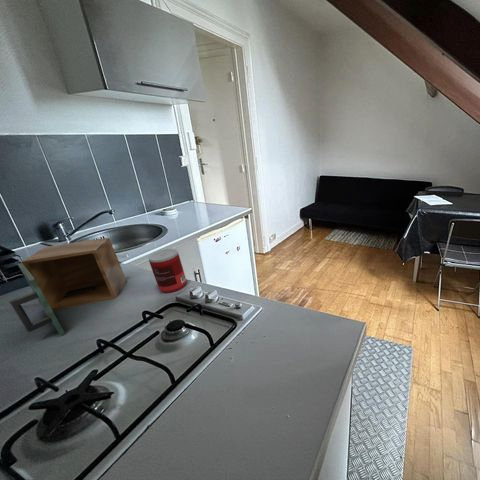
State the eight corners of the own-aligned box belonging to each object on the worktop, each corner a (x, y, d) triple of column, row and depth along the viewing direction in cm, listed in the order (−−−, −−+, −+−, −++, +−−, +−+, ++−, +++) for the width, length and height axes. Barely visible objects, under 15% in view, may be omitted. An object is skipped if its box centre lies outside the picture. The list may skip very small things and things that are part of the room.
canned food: (182, 277, 85) (172, 246, 81) (191, 285, 80) (181, 253, 76) (156, 286, 80) (144, 254, 76) (163, 296, 75) (152, 263, 71)
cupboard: (116, 298, 76) (95, 249, 70) (49, 312, 71) (21, 261, 65) (127, 281, 84) (109, 237, 78) (68, 293, 80) (44, 247, 74)
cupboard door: (37, 347, 59) (1, 290, 53) (24, 322, 67) (-8, 271, 61) (65, 334, 62) (34, 279, 56) (50, 312, 71) (22, 262, 65)
